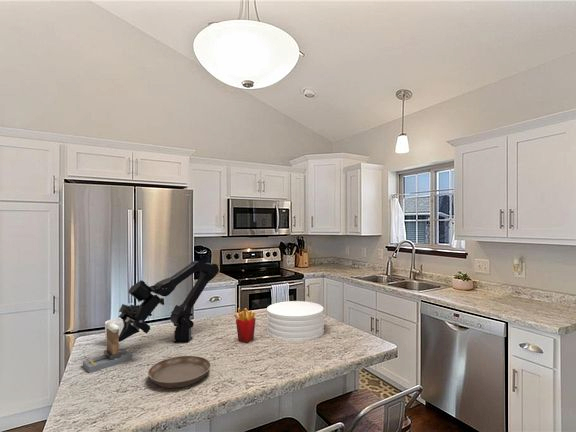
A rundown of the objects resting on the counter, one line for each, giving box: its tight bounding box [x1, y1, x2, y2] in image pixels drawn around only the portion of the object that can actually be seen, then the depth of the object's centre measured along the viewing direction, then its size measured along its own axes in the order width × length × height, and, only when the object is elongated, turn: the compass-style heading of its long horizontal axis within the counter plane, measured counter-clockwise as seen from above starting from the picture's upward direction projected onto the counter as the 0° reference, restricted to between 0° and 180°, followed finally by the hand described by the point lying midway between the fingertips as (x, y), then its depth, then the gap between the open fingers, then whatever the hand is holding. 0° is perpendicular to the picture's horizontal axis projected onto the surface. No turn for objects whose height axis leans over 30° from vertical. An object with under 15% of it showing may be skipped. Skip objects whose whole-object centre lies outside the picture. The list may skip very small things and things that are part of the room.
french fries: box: [233, 307, 257, 344], centre depth 143 cm, size 9×8×15 cm
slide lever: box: [103, 322, 121, 360], centre depth 123 cm, size 4×7×12 cm, turn 47°
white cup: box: [104, 318, 124, 346], centre depth 143 cm, size 8×8×10 cm
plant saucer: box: [147, 355, 212, 389], centre depth 111 cm, size 21×21×3 cm
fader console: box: [82, 349, 134, 374], centre depth 122 cm, size 15×8×2 cm, turn 137°
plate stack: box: [266, 300, 325, 342], centre depth 157 cm, size 28×28×12 cm
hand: (118, 341), depth 125 cm, fingers closed
